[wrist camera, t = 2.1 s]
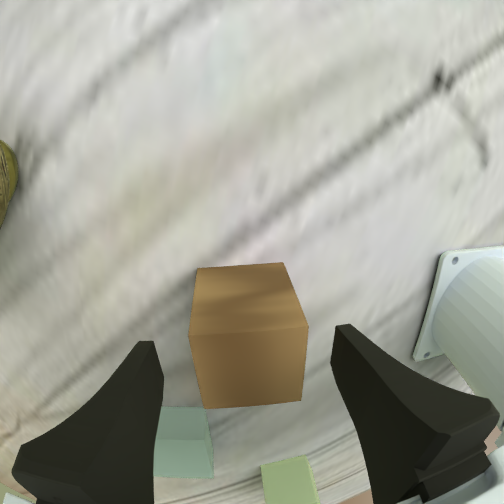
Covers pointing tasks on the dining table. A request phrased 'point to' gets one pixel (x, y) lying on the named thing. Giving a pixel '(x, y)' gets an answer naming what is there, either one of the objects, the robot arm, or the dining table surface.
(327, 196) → the dining table surface
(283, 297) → the walnut block
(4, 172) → the cup
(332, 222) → the dining table surface
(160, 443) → the mint green base block
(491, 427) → the robot arm
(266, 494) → the sage block
